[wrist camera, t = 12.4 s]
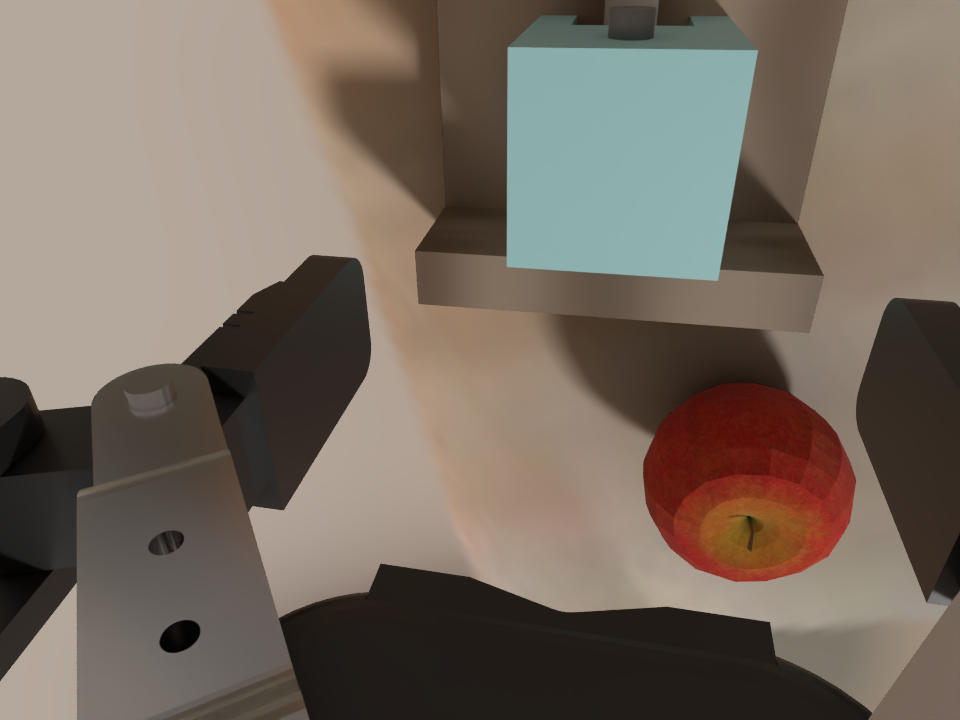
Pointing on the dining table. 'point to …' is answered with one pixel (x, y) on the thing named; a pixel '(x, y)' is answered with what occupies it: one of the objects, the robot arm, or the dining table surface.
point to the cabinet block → (625, 143)
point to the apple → (748, 483)
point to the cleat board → (756, 197)
